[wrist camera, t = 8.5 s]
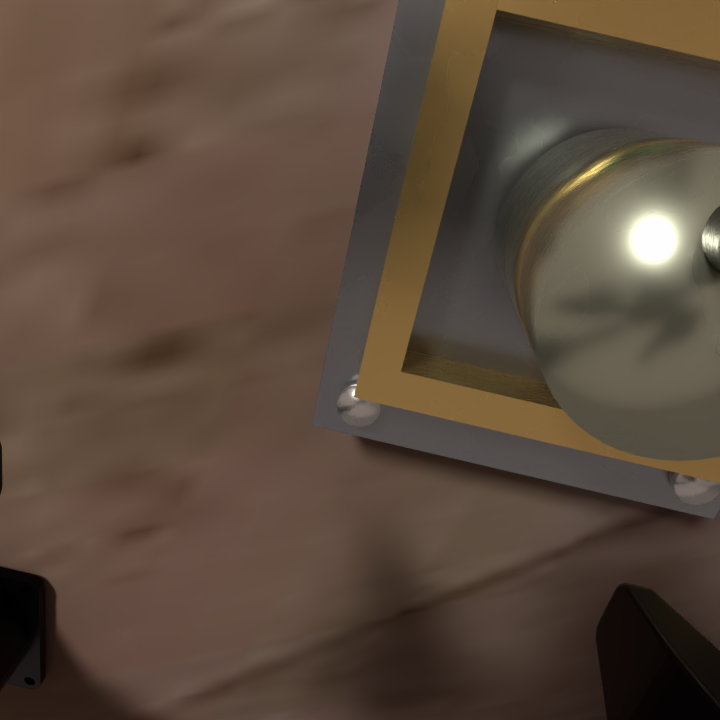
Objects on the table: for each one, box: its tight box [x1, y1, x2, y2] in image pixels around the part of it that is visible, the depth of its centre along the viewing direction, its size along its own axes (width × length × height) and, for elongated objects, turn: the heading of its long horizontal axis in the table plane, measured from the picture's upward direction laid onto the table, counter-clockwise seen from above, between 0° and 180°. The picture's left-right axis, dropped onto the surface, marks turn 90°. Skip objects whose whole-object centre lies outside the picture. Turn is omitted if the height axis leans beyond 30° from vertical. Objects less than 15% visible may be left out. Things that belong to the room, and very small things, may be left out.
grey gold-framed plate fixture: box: [312, 0, 720, 519], centre depth 15 cm, size 14×12×4 cm
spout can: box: [496, 128, 720, 461], centre depth 12 cm, size 5×5×7 cm
